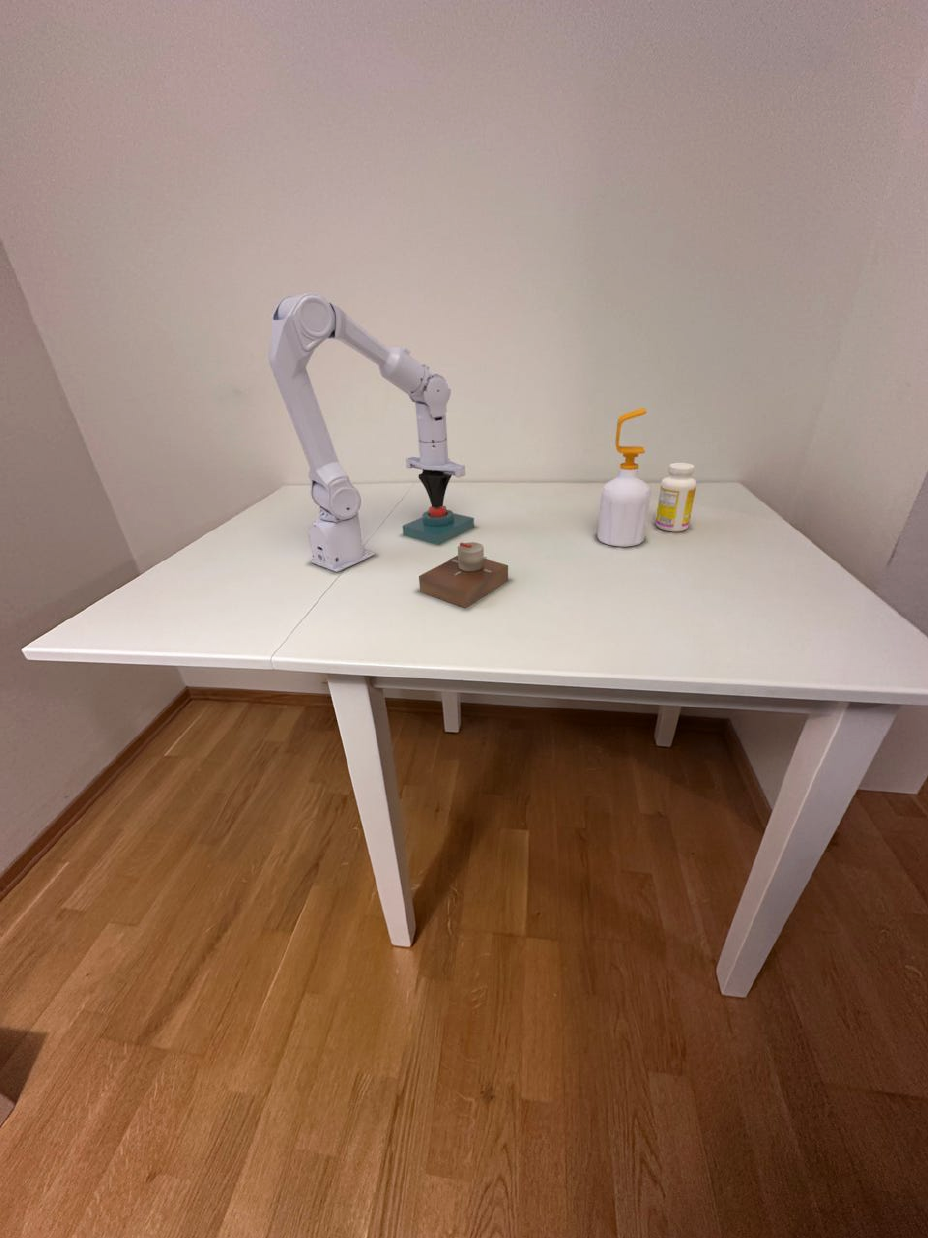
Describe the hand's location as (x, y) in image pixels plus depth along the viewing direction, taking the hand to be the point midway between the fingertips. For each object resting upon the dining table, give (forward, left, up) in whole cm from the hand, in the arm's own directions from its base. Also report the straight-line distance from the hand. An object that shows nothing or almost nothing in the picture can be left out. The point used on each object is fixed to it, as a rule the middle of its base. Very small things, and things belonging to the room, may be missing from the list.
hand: (437, 505), depth 108 cm
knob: (-15, -21, -3) cm, 26 cm away
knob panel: (-17, -21, -6) cm, 28 cm away
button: (0, 0, -2) cm, 2 cm away
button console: (0, 0, -6) cm, 6 cm away
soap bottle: (+17, -34, -6) cm, 38 cm away
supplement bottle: (+29, -40, -6) cm, 50 cm away
